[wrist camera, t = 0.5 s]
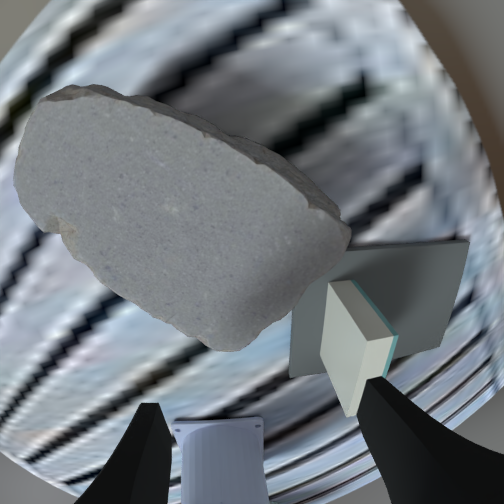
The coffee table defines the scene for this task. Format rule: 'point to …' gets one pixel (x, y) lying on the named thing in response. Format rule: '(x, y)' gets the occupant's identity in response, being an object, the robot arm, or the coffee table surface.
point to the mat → (385, 297)
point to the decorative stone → (176, 212)
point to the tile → (354, 342)
